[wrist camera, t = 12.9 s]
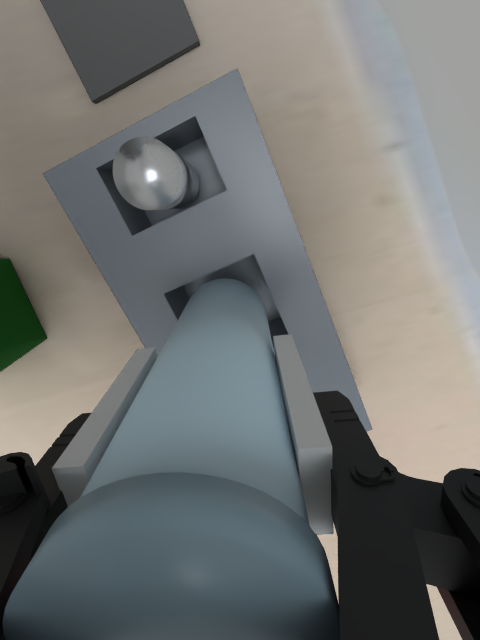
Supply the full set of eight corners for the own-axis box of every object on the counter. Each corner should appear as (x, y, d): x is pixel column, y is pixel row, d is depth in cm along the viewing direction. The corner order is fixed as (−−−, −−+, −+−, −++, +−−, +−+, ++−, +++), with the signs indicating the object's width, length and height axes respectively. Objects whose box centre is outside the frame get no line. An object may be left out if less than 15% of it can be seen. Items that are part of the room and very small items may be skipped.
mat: (24, -36, 20) (18, -42, 19) (138, -111, 19) (135, -121, 18) (95, 103, 22) (91, 101, 22) (200, 44, 21) (198, 40, 21)
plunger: (142, 170, 22) (99, 155, 15) (185, 148, 21) (159, 123, 15) (165, 216, 23) (134, 221, 16) (207, 196, 22) (191, 193, 16)
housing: (90, 180, 24) (42, 173, 18) (239, 102, 22) (237, 68, 17) (227, 430, 31) (223, 480, 25) (347, 386, 29) (372, 429, 24)
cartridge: (175, 280, 19) (-55, 545, 4) (265, 270, 19) (346, 517, 4) (189, 360, 21) (60, 743, 6) (272, 353, 21) (346, 732, 6)
